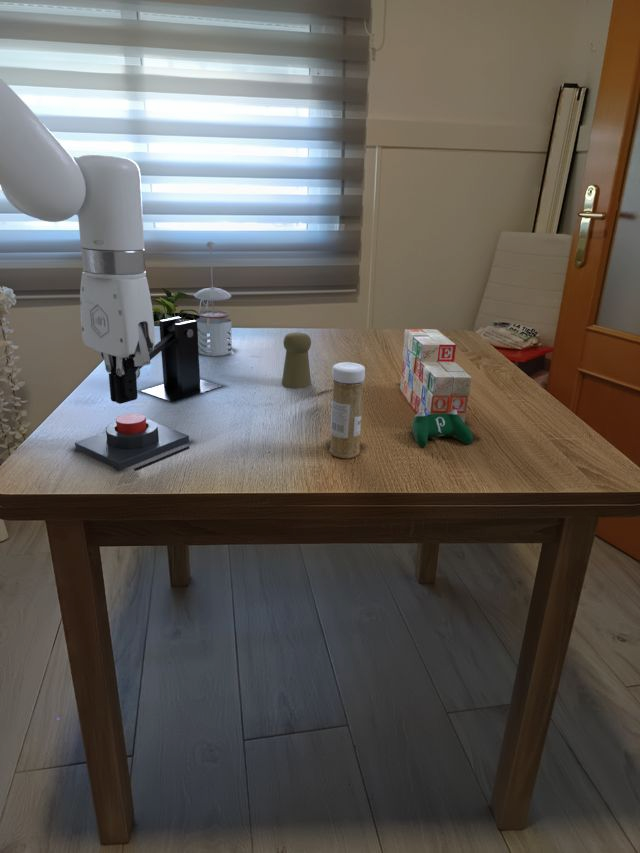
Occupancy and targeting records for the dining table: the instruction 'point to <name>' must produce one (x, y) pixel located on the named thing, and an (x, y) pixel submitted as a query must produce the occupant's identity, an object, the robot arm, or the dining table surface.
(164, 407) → the dining table surface
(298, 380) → the cork
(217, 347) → the french press
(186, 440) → the button block
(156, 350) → the switch lever
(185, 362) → the switch bracket
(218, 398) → the dining table surface
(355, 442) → the sprinkles bottle
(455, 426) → the gaming controller
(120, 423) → the button
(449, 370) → the stack of blocks
